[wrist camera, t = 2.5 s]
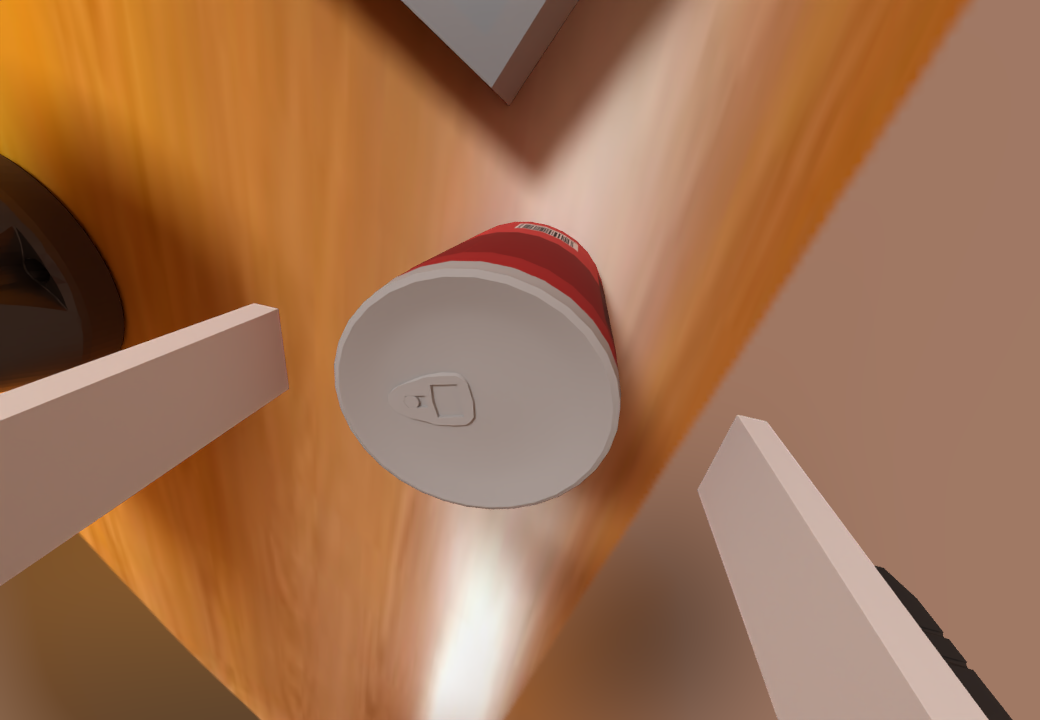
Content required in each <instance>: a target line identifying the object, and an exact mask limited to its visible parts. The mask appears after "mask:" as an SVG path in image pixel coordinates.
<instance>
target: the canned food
mask: <svg viewBox="0 0 1040 720" xmlns="http://www.w3.org/2000/svg"><path fill="white" fill-rule="evenodd" d="M334 370H335V388H336V392H337V396H338V400H339V404H340V408H341V410H342V412H343V414H344V417H345V419H346V421H347V423H348V425H349V427H350V429H351V431H352V432H353V434H354V435H355V436H356V438H357V439H358V441H359V442H360V443H361V445H362V446H363V448H364V449H365V450H366V451H367V452H368V453H369V454H370V455H371V456H372V457H373V458H374V459H375V460H376V461H377V462H378V463H379V464H380V465H381V466H382V467H383V468H385V469H386V470H387V471H389V472H390V473H391V474H393V475H394V476H395V477H397V478H398V479H399V480H401V481H403V482H404V483H406V484H408V485H410V486H411V487H413V488H415V489H417V490H419V491H420V492H423V493H425V494H428V495H430V496H433V497H435V498H438V499H440V500H443V501H447V502H451V503H455V504H459V505H463V506H467V507H476V508H485V509H510V508H519V507H524V506H530V505H535V504H539V503H542V502H545V501H547V500H550V499H553V498H556V497H559V496H560V495H562V494H564V493H566V492H567V491H569V490H571V489H572V488H574V487H576V486H578V485H579V484H580V483H581V482H582V481H584V480H585V479H586V478H587V477H588V476H589V475H590V474H591V473H593V472H594V471H595V470H596V469H597V467H598V466H599V464H600V463H601V462H602V460H603V459H604V457H605V456H606V455H607V453H608V452H609V450H610V447H611V445H612V442H613V439H614V437H615V434H616V432H617V429H618V421H619V413H620V399H621V389H620V381H619V373H618V366H617V358H616V351H615V346H614V341H613V336H612V331H611V326H610V321H609V316H608V311H607V306H606V301H605V296H604V291H603V286H602V281H601V278H600V275H599V273H598V270H597V267H596V265H595V263H594V262H593V260H592V259H591V257H590V255H589V254H588V252H587V251H586V250H585V249H584V248H583V247H582V246H581V245H580V244H579V243H578V242H577V241H576V240H574V239H573V238H572V237H570V236H569V235H567V234H566V233H564V232H563V231H560V230H558V229H555V228H553V227H551V226H548V225H544V224H539V223H534V222H513V223H508V224H503V225H499V226H496V227H494V228H492V229H489V230H487V231H485V232H483V233H481V234H479V235H477V236H475V237H473V238H471V239H469V240H467V241H465V242H463V243H461V244H459V245H457V246H455V247H453V248H451V249H449V250H447V251H445V252H443V253H441V254H439V255H437V256H435V257H433V258H431V259H429V260H427V261H425V262H423V263H421V264H419V265H417V266H415V267H413V268H411V269H410V270H409V271H407V272H405V273H403V274H401V275H399V276H398V277H396V278H394V279H393V280H391V281H390V282H389V283H387V284H386V285H385V286H383V287H382V288H381V289H379V290H378V291H376V292H375V293H374V294H373V295H372V296H371V297H370V298H369V299H367V300H366V301H365V302H364V303H363V304H362V305H361V306H360V308H359V309H358V310H357V311H356V312H355V314H354V315H353V316H352V317H351V318H350V320H349V321H348V323H347V325H346V327H345V330H344V332H343V334H342V336H341V338H340V340H339V343H338V348H337V353H336V358H335V363H334Z"/></svg>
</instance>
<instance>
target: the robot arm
mask: <svg viewBox="0 0 1040 720" xmlns="http://www.w3.org/2000/svg"><path fill="white" fill-rule="evenodd" d="M123 336H124V317H123V311H122V306H121V302H120V298H119V295H118V292H117V289H116V286H115V284H114V281H113V279H112V277H111V274H110V272H109V270H108V268H107V266H106V265H105V263H104V261H103V259H102V257H101V256H100V254H99V252H98V251H97V249H96V247H95V246H94V244H93V243H92V241H91V240H90V239H89V237H88V236H87V234H86V233H85V232H84V230H83V229H82V228H81V226H80V225H79V224H78V223H77V221H76V220H75V219H74V218H73V216H72V215H71V214H70V213H69V212H68V211H67V210H66V208H65V207H64V206H63V205H62V204H61V203H60V202H59V201H58V200H57V199H56V198H55V197H54V196H53V195H52V194H51V193H50V192H49V191H48V190H47V189H46V188H44V187H43V186H42V185H41V184H40V183H39V182H38V181H37V180H35V179H34V178H33V177H32V176H30V175H29V174H28V173H27V172H25V171H24V170H23V169H21V168H20V167H19V166H17V165H16V164H14V163H13V162H12V161H10V160H9V159H7V158H5V157H4V156H2V155H1V154H0V392H4V393H1V394H0V586H1V585H2V584H4V583H5V582H7V581H8V580H10V579H11V578H13V577H14V576H15V575H17V574H18V573H20V572H21V571H23V570H24V569H25V568H27V567H29V566H30V565H31V564H33V563H34V562H36V561H37V560H39V559H40V558H42V557H43V556H45V555H46V554H48V553H49V552H51V551H52V550H53V549H55V548H56V547H58V546H59V545H61V544H62V543H64V542H65V541H67V540H68V539H70V538H71V537H72V536H74V535H75V534H77V533H78V532H80V531H81V530H83V529H84V528H86V527H87V526H89V525H90V524H92V523H93V522H95V521H96V520H97V519H99V518H100V517H102V516H103V515H105V514H106V513H108V512H109V511H111V510H112V509H114V508H115V507H116V506H118V505H119V504H121V503H122V502H124V501H125V500H127V499H128V498H130V497H131V496H133V495H134V494H136V493H137V492H138V491H140V490H141V489H143V488H144V487H146V486H147V485H149V484H150V483H152V482H153V481H155V480H156V479H157V478H159V477H160V476H162V475H163V474H165V473H166V472H168V471H169V470H171V469H172V468H174V467H175V466H177V465H178V464H179V463H181V462H182V461H184V460H185V459H187V458H188V457H190V456H191V455H193V454H194V453H196V452H197V451H198V450H200V449H201V448H203V447H204V446H206V445H207V444H209V443H210V442H212V441H213V440H215V439H216V438H218V437H219V436H220V435H222V434H223V433H225V432H226V431H228V430H229V429H231V428H232V427H234V426H235V425H237V424H238V423H240V422H241V421H242V420H244V419H245V418H247V417H248V416H250V415H251V414H253V413H254V412H256V411H257V410H259V409H260V408H261V407H263V406H264V405H266V404H267V403H269V402H270V401H272V400H273V399H275V398H276V397H278V396H279V395H281V394H282V393H283V392H285V391H286V390H288V389H289V385H288V378H287V370H286V363H285V355H284V348H283V340H282V333H281V325H280V318H279V310H278V309H277V308H273V307H269V306H264V305H260V304H256V303H253V304H250V305H248V306H245V307H242V308H239V309H236V310H234V311H231V312H228V313H225V314H222V315H220V316H217V317H214V318H211V319H208V320H206V321H203V322H200V323H197V324H194V325H192V326H189V327H186V328H183V329H180V330H178V331H175V332H172V333H169V334H166V335H164V336H161V337H158V338H155V339H152V340H150V341H147V342H144V343H141V344H138V345H136V346H133V347H130V348H127V349H124V350H122V351H119V350H120V348H121V345H122V341H123ZM6 391H7V392H6ZM697 491H698V493H699V496H700V499H701V502H702V505H703V508H704V510H705V513H706V516H707V519H708V522H709V525H710V528H711V530H712V533H713V536H714V539H715V542H716V545H717V548H718V550H719V553H720V556H721V559H722V562H723V565H724V567H725V570H726V573H727V576H728V579H729V581H730V585H731V587H732V590H733V593H734V596H735V599H736V602H737V605H738V607H739V610H740V613H741V616H742V619H743V622H744V624H745V627H746V630H747V633H748V636H749V639H750V642H751V644H752V647H753V650H754V653H755V656H756V659H757V661H758V664H759V667H760V670H761V673H762V675H763V678H764V681H765V684H766V687H767V690H768V693H769V696H770V699H771V701H772V704H773V707H774V710H775V713H776V716H777V718H778V720H1012V719H1011V718H1010V716H1009V715H1008V714H1007V712H1006V711H1005V710H1004V709H1003V707H1002V706H1001V705H1000V703H999V702H998V701H997V700H996V698H995V697H994V696H993V695H992V693H991V692H990V691H989V689H988V688H987V687H986V686H985V684H984V683H983V682H982V681H981V679H980V678H979V677H978V676H977V674H976V673H975V672H974V671H973V670H971V669H968V668H967V666H966V663H967V662H966V660H965V659H964V658H963V657H962V655H961V654H960V653H959V651H958V650H957V649H956V648H955V646H954V645H953V644H952V643H951V641H950V640H949V639H946V638H944V637H943V631H942V630H941V629H940V628H939V626H938V625H937V624H936V622H935V621H934V620H933V618H932V617H931V616H930V615H929V613H928V612H927V611H926V610H925V608H924V607H923V606H922V604H921V603H920V602H919V601H918V599H917V598H915V596H914V595H912V594H911V593H910V592H909V591H908V590H907V589H906V588H905V587H904V586H903V585H901V584H900V583H899V582H898V581H897V580H896V579H895V578H894V577H893V576H892V575H891V574H890V573H888V572H887V571H886V570H885V569H884V568H881V567H877V566H874V565H873V564H872V562H871V561H870V560H869V558H868V557H867V556H866V554H865V553H864V552H863V550H862V549H861V547H860V546H859V545H858V544H857V542H856V541H855V539H854V538H853V537H852V535H851V534H850V533H849V531H848V530H847V529H846V527H845V526H844V525H843V523H842V522H841V521H840V519H839V518H838V517H837V515H836V514H835V513H834V511H833V510H832V508H831V507H830V506H829V504H828V503H827V502H826V500H825V499H824V498H823V496H822V495H821V494H820V492H819V491H818V490H817V488H816V487H815V486H814V484H813V483H812V482H811V480H810V479H809V478H808V476H807V475H806V474H805V472H804V471H803V470H802V468H801V467H800V465H799V464H798V463H797V461H796V460H795V459H794V457H793V456H792V455H791V453H790V452H789V451H788V449H787V448H786V447H785V445H784V444H783V443H782V441H781V440H780V439H779V437H778V436H777V435H776V433H775V432H774V431H773V429H772V428H771V427H770V425H769V424H768V422H766V421H762V420H758V419H754V418H749V417H745V416H741V415H737V416H736V418H735V420H734V422H733V423H732V425H731V427H730V429H729V431H728V433H727V435H726V437H725V439H724V441H723V443H722V444H721V446H720V448H719V450H718V452H717V454H716V456H715V458H714V459H713V461H712V463H711V465H710V467H709V469H708V471H707V473H706V474H705V476H704V478H703V480H702V482H701V484H700V486H699V488H698V490H697Z"/></svg>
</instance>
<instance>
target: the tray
mask: <svg viewBox="0 0 1040 720" xmlns="http://www.w3.org/2000/svg"><path fill="white" fill-rule="evenodd" d="M401 1H402V2H403V3H404V4H405V5H406V6H407V7H408V8H409V9H410V10H411V11H412V12H413V13H414V14H415V15H416V16H417V17H418V18H419V19H420V20H421V21H423V22H424V23H425V24H426V25H427V26H428V27H429V28H430V29H431V30H432V31H433V32H434V33H435V34H436V35H437V36H438V37H439V38H440V39H441V40H442V41H443V42H444V43H445V44H446V45H447V46H448V47H449V48H450V49H451V50H452V51H453V52H454V53H455V54H456V55H458V56H459V57H460V58H461V59H462V60H463V61H464V62H465V63H466V64H467V65H468V66H469V67H470V68H471V69H472V70H473V71H474V72H475V73H476V74H477V75H478V76H479V77H480V78H481V79H482V80H483V81H484V82H485V83H486V84H487V85H488V86H489V87H490V88H491V89H493V90H494V91H495V92H496V93H497V94H498V95H499V96H500V97H501V98H502V99H503V100H504V101H505V102H506V103H507V104H508V105H510V104H511V102H512V101H513V99H514V97H515V96H516V94H517V93H518V91H519V90H520V88H521V87H522V85H523V84H524V82H525V81H526V79H527V78H528V76H529V75H530V73H531V72H532V70H533V69H534V67H535V66H536V64H537V63H538V61H539V59H540V58H541V56H542V55H543V53H544V52H545V50H546V49H547V47H548V46H549V44H550V43H551V41H552V40H553V38H554V37H555V35H556V34H557V32H558V31H559V29H560V28H561V26H562V25H563V23H564V22H565V20H566V18H567V17H568V15H569V14H570V12H571V11H572V9H573V8H574V6H575V5H576V3H577V2H578V0H401Z"/></svg>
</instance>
